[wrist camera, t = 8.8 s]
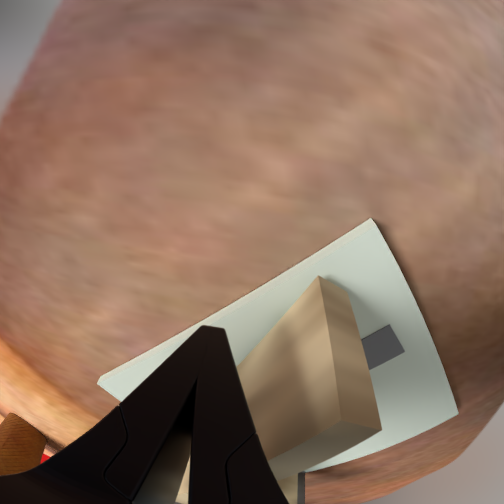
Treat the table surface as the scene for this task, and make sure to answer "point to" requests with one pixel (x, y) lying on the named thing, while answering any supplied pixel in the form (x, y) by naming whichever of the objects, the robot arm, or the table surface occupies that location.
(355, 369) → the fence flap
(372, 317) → the board
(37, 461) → the disposable coffee cup
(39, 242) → the table surface
